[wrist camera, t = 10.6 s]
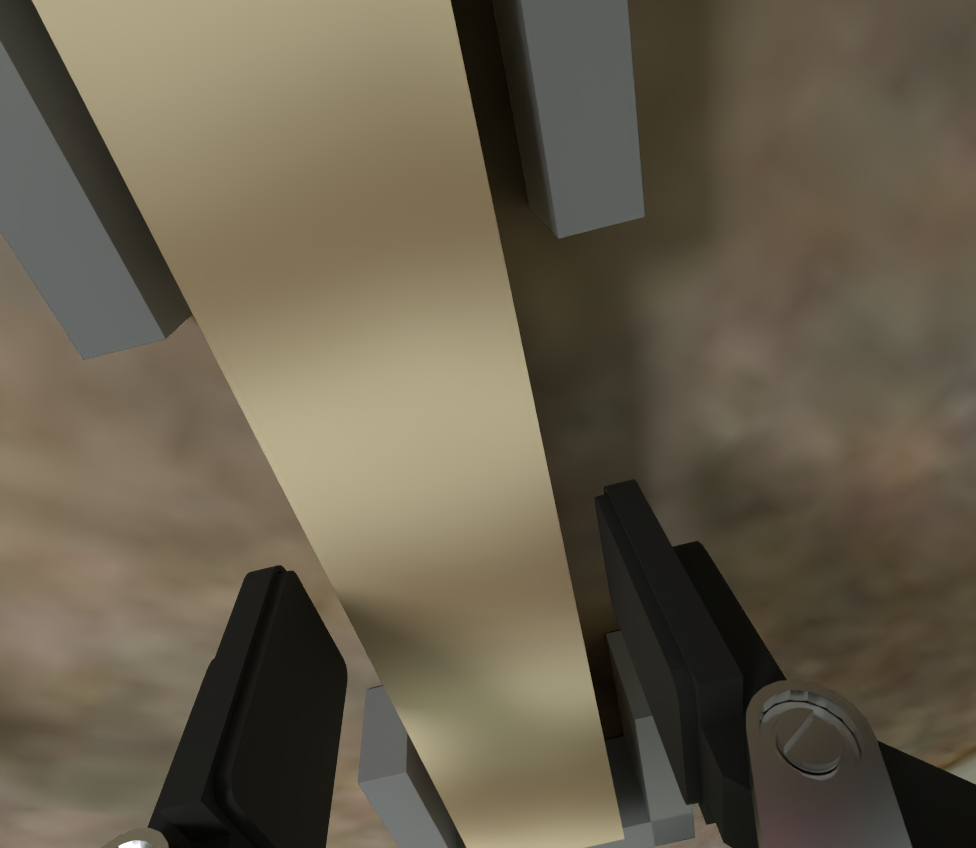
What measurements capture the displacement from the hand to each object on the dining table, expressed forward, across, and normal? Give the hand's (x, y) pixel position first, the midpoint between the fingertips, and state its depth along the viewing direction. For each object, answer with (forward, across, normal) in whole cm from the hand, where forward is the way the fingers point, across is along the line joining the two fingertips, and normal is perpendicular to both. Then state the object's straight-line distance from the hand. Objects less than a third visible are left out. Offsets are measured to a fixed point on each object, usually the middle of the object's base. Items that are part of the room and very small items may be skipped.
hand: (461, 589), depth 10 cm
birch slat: (+3, 0, 0) cm, 3 cm away
